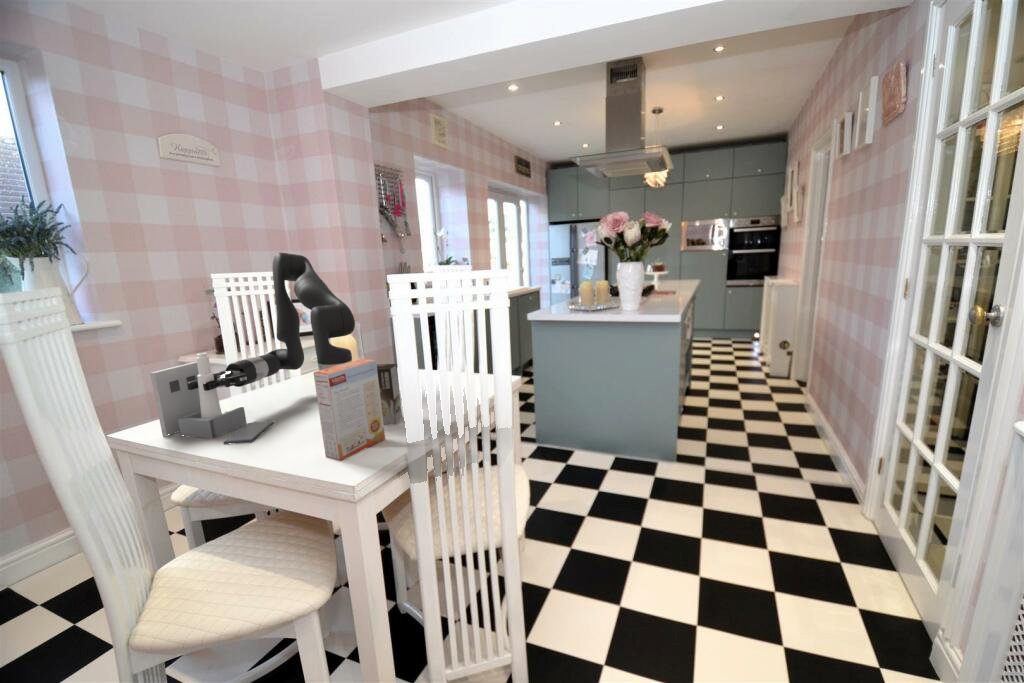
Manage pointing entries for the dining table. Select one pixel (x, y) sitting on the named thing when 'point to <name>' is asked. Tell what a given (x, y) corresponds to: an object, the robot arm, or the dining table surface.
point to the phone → (249, 432)
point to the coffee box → (389, 393)
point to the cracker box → (349, 407)
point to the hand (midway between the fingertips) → (196, 386)
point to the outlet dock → (188, 405)
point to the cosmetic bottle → (210, 397)
